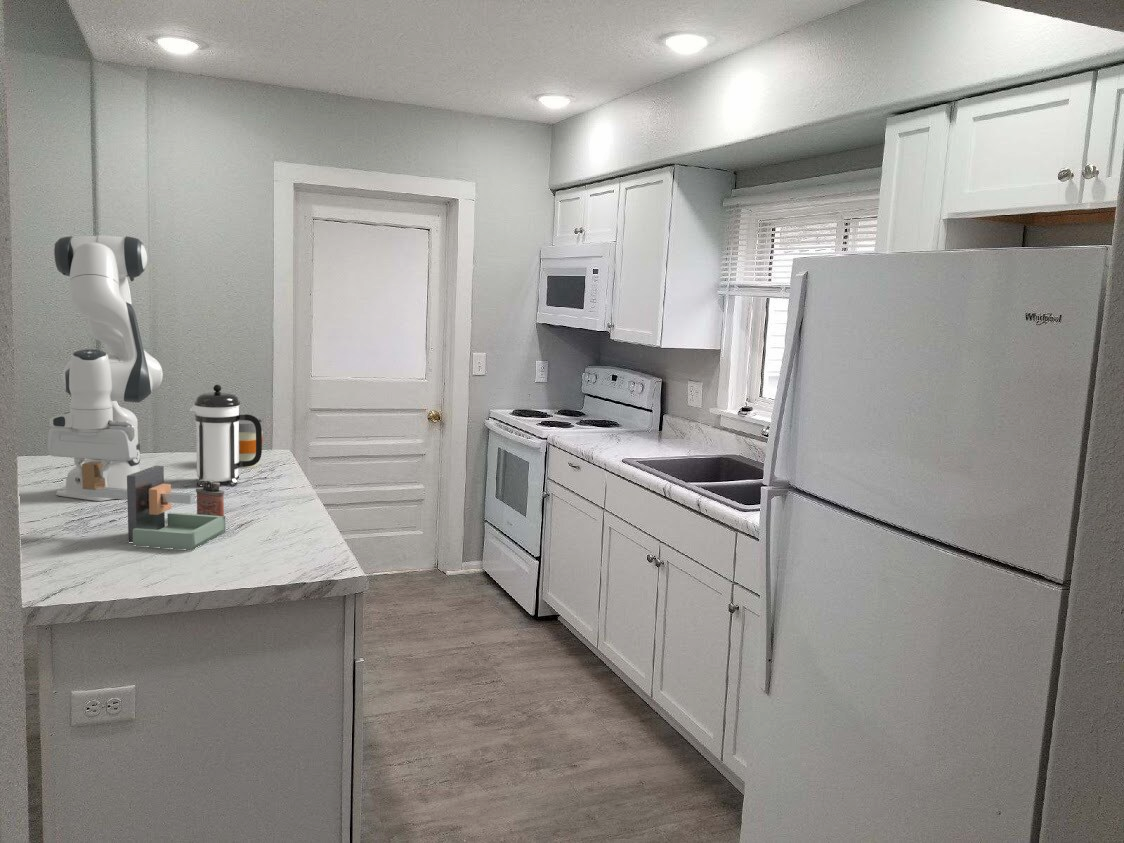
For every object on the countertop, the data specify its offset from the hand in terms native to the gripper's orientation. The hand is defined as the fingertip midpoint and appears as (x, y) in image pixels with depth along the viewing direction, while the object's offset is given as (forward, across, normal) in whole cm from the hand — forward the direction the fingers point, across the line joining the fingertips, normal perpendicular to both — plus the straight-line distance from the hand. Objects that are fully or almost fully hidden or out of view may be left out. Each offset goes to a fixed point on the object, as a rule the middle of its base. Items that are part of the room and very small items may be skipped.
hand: (93, 477), depth 207 cm
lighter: (+14, -19, -19) cm, 30 cm away
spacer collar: (+7, -16, 0) cm, 18 cm away
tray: (+14, -22, 0) cm, 25 cm away
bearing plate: (+14, -13, 0) cm, 19 cm away
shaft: (+5, -12, 0) cm, 12 cm away
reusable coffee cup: (+14, +2, -83) cm, 84 cm away
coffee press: (+14, -3, -58) cm, 60 cm away
